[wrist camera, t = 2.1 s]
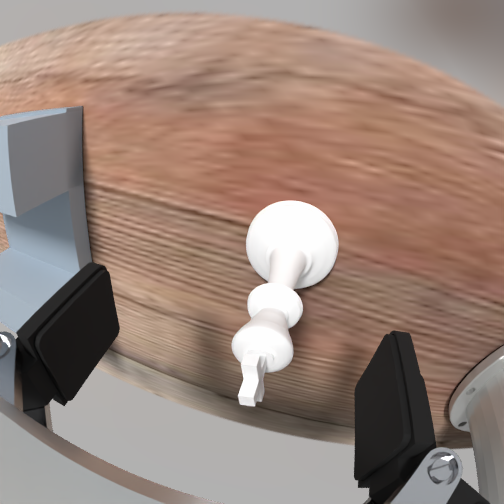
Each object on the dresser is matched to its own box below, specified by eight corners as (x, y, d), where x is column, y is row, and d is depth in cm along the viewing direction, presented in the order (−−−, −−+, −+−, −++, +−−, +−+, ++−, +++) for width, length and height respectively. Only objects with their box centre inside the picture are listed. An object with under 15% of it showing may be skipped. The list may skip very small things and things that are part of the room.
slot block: (82, 106, 15) (7, 120, 10) (103, 318, 23) (62, 364, 18) (6, 114, 17) (-51, 131, 11) (32, 285, 25) (-6, 318, 20)
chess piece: (252, 282, 18) (188, 428, 9) (242, 201, 16) (141, 325, 7) (337, 284, 17) (329, 447, 8) (338, 199, 15) (347, 343, 6)
